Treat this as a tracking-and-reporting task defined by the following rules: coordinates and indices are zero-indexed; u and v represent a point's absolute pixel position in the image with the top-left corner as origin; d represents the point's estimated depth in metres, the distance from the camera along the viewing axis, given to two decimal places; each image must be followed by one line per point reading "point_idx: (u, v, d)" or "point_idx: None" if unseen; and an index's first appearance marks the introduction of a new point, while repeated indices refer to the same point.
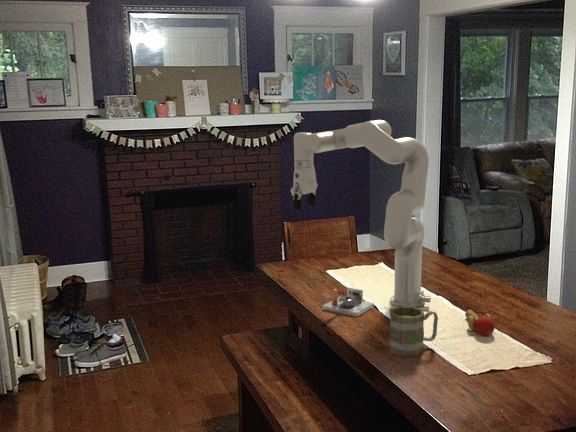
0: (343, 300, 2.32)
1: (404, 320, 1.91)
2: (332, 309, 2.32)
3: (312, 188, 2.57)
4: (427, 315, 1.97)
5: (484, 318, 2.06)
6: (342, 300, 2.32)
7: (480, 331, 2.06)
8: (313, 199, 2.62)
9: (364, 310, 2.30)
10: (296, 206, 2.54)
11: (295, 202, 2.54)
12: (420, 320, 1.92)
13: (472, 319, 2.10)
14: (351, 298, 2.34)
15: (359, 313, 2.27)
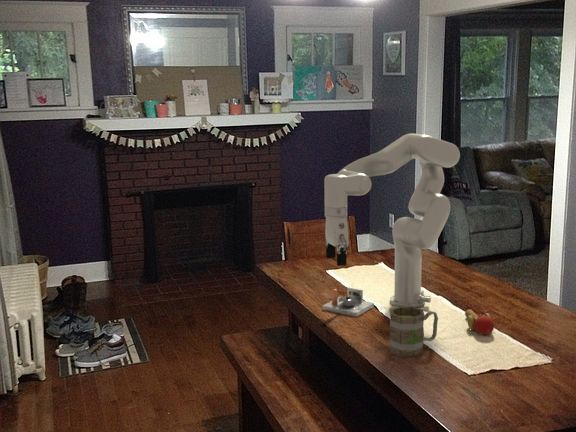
0: (343, 300, 2.32)
1: (404, 320, 1.91)
2: (332, 309, 2.32)
3: None
4: (427, 315, 1.97)
5: (483, 317, 2.07)
6: (342, 300, 2.32)
7: (479, 330, 2.06)
8: (334, 250, 2.24)
9: (364, 310, 2.30)
10: (343, 262, 2.14)
11: (342, 257, 2.14)
12: (420, 320, 1.92)
13: (472, 318, 2.10)
14: (351, 298, 2.34)
15: (359, 313, 2.27)
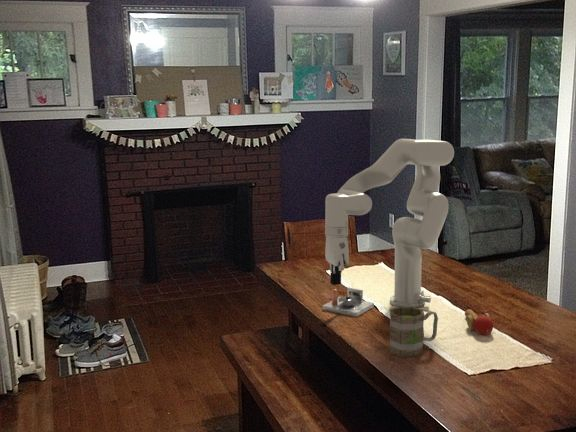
0: (343, 300, 2.32)
1: (404, 320, 1.91)
2: (332, 309, 2.32)
3: None
4: (427, 315, 1.97)
5: (483, 317, 2.07)
6: (342, 300, 2.32)
7: (479, 330, 2.07)
8: None
9: (364, 310, 2.30)
10: (337, 281, 2.19)
11: (337, 277, 2.19)
12: (420, 320, 1.92)
13: (471, 318, 2.11)
14: (351, 298, 2.34)
15: (359, 313, 2.27)
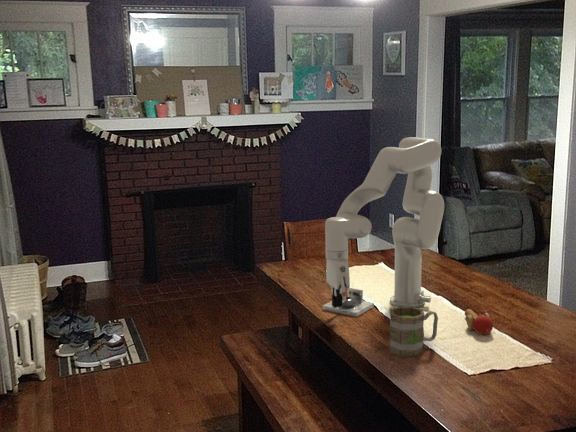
0: (343, 300, 2.32)
1: (404, 320, 1.91)
2: (332, 309, 2.32)
3: None
4: (427, 315, 1.97)
5: (482, 317, 2.07)
6: (342, 300, 2.32)
7: (478, 330, 2.07)
8: None
9: (364, 310, 2.30)
10: (339, 303, 2.21)
11: (338, 299, 2.21)
12: (420, 320, 1.92)
13: (471, 318, 2.11)
14: (351, 298, 2.34)
15: (359, 313, 2.27)
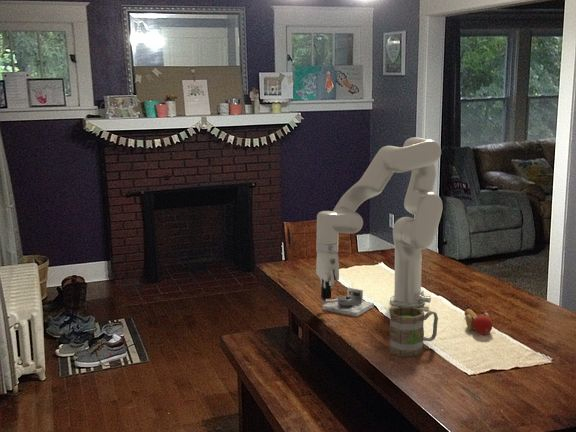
0: (340, 298, 2.34)
1: (404, 320, 1.91)
2: (332, 309, 2.32)
3: None
4: (427, 315, 1.97)
5: (482, 317, 2.07)
6: (339, 298, 2.34)
7: (478, 330, 2.07)
8: None
9: (364, 310, 2.30)
10: (328, 295, 2.27)
11: (327, 291, 2.26)
12: (420, 320, 1.92)
13: (470, 318, 2.11)
14: (350, 299, 2.33)
15: (359, 313, 2.27)
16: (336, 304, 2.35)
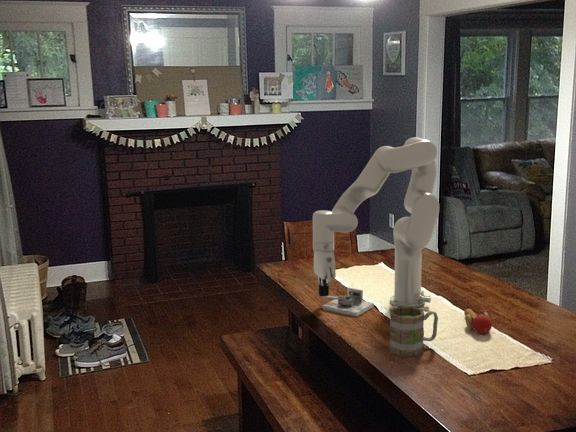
0: (341, 297, 2.35)
1: (404, 320, 1.91)
2: (332, 309, 2.32)
3: None
4: (427, 315, 1.97)
5: (481, 317, 2.08)
6: (340, 297, 2.36)
7: (477, 329, 2.07)
8: None
9: (364, 310, 2.30)
10: (325, 293, 2.32)
11: (324, 289, 2.32)
12: (420, 320, 1.92)
13: (469, 317, 2.11)
14: (348, 299, 2.33)
15: (359, 313, 2.27)
16: (336, 304, 2.35)
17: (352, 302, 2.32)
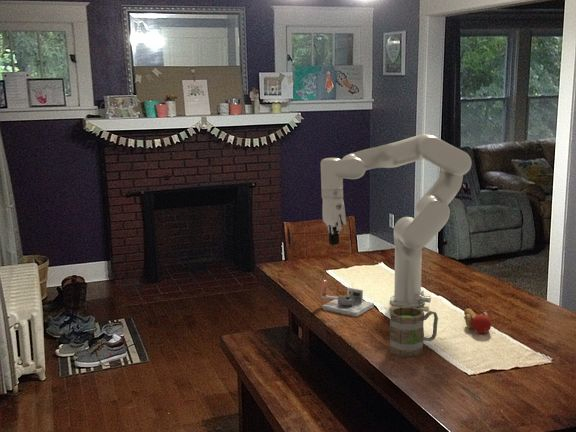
0: (341, 297, 2.35)
1: (404, 320, 1.91)
2: (332, 309, 2.32)
3: None
4: (427, 315, 1.97)
5: (480, 316, 2.08)
6: (340, 297, 2.36)
7: (476, 329, 2.08)
8: None
9: (364, 310, 2.30)
10: (336, 241, 2.31)
11: (335, 237, 2.31)
12: (420, 320, 1.92)
13: (469, 317, 2.12)
14: (348, 299, 2.33)
15: (359, 313, 2.27)
16: (336, 304, 2.35)
17: (352, 302, 2.32)
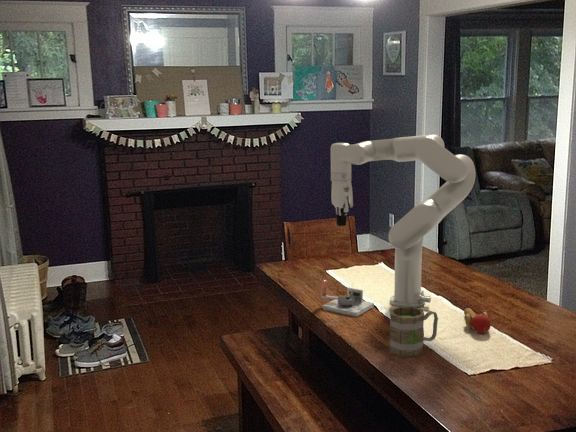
0: (341, 297, 2.35)
1: (404, 320, 1.91)
2: (332, 309, 2.32)
3: None
4: (427, 315, 1.97)
5: (480, 316, 2.08)
6: (340, 297, 2.36)
7: (476, 329, 2.08)
8: None
9: (364, 310, 2.30)
10: (343, 222, 2.43)
11: (342, 218, 2.43)
12: (420, 320, 1.92)
13: (469, 317, 2.12)
14: (348, 299, 2.33)
15: (359, 313, 2.27)
16: (336, 304, 2.35)
17: (352, 302, 2.32)
